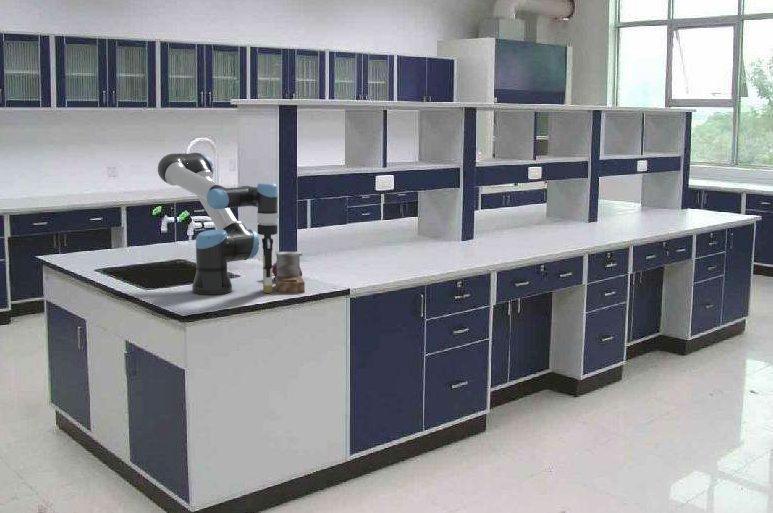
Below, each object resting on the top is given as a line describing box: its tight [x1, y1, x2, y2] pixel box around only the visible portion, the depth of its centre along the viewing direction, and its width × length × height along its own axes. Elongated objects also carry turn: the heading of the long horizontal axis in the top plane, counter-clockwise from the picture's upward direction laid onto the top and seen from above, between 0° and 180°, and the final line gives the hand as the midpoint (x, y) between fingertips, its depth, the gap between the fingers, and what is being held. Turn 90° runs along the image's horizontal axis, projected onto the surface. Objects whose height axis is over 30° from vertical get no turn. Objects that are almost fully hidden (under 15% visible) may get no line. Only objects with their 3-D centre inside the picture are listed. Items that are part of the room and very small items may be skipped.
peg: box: [262, 255, 273, 294], centre depth 323 cm, size 3×3×14 cm
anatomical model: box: [272, 260, 303, 281], centre depth 349 cm, size 12×10×15 cm
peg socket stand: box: [274, 251, 306, 294], centre depth 330 cm, size 10×14×14 cm
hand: (267, 284), depth 323 cm, fingers closed on peg, 3 cm apart
